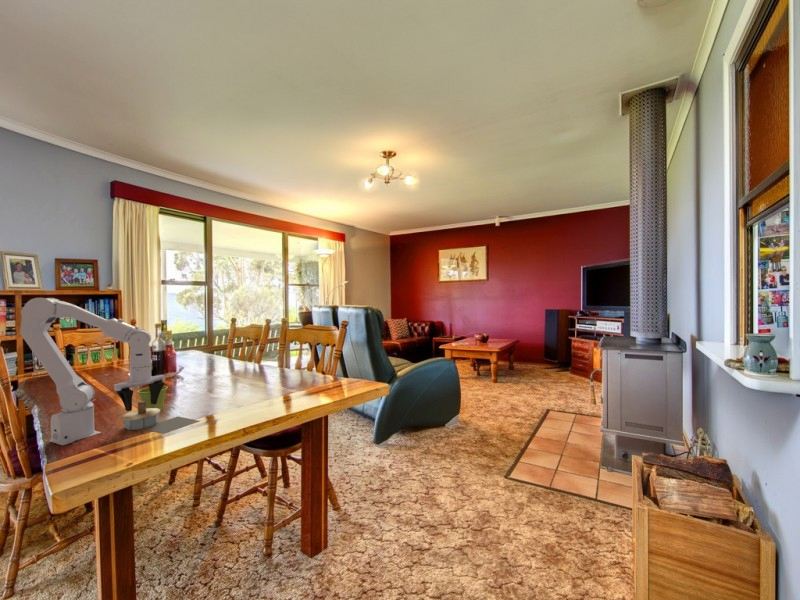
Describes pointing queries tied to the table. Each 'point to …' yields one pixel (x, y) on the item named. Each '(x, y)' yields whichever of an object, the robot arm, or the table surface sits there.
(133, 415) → the lid
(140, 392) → the plant pot
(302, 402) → the table surface
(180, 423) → the mat
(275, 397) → the table surface
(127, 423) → the bowl
